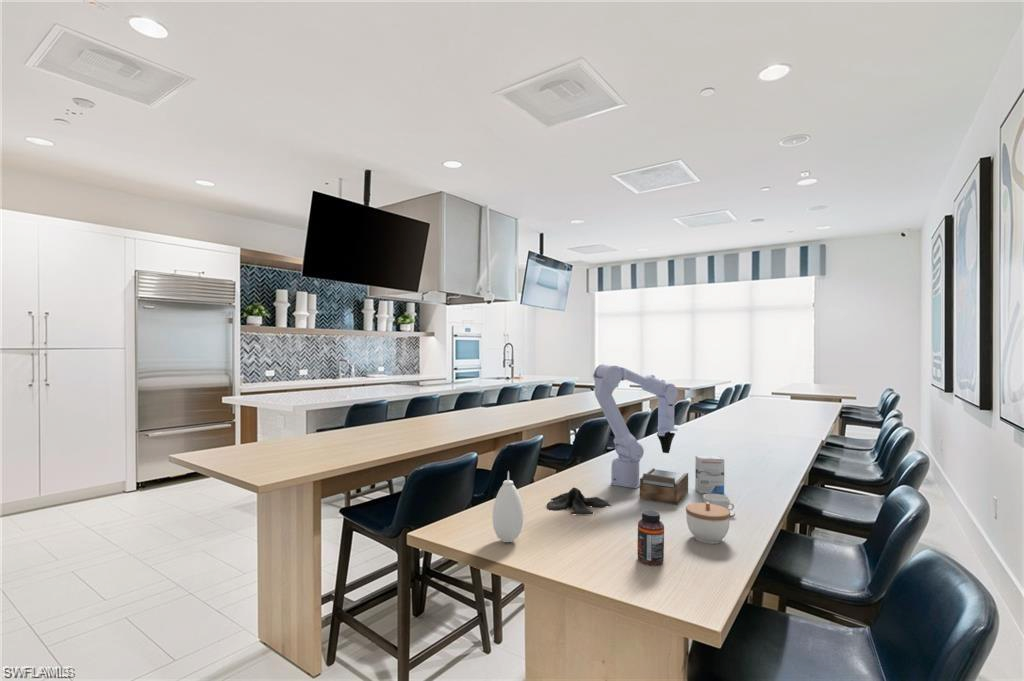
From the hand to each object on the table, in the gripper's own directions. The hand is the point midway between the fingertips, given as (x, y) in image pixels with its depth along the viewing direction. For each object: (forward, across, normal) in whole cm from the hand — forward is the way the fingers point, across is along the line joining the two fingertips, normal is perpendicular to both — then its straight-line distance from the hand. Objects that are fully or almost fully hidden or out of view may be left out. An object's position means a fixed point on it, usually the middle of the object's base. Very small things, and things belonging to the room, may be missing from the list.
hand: (665, 452), depth 186 cm
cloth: (+11, -43, +18) cm, 48 cm away
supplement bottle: (+11, -71, -14) cm, 73 cm away
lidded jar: (+11, -50, -23) cm, 56 cm away
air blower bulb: (+11, -79, +20) cm, 82 cm away
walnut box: (+10, -18, -4) cm, 21 cm away
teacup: (+11, -26, -22) cm, 36 cm away
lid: (+5, -18, -4) cm, 19 cm away
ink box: (+11, -5, -16) cm, 20 cm away
